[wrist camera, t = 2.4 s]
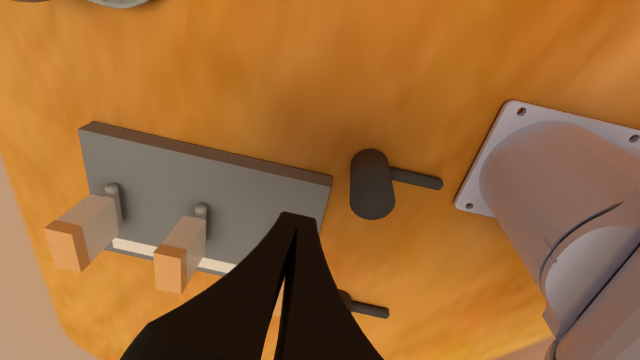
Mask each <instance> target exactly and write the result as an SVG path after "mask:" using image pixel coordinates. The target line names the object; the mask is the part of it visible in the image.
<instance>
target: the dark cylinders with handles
mask: <svg viewBox="0 0 640 360" xmlns="http://www.w3.org/2000/svg"><path fill="white" fill-rule="evenodd" d="M392 180H395V181H400V182H404V183H408V184H413V185H417V186H421V187H426V188H430V189H434V190H440V189H441V188H442V187H443V181H442V180H441V179H438V178H434V177H430V176H425V175H421V174H417V173H412V172H408V171H404V170H400V169H395V168H391V167H389V164H388V160H387V158H386V156H385V155H384V154H383V153H382V152H380V151H378V150H375V149H365V150H362V151H360V152H358V153H357V154H356V155H355V156H354V157H353V159H352V161H351V172H350V207H351V209H352V210H353V212H354V213H355V214H356V215H358V216H359V217H361V218H364V219H368V220H376V219H380V218H383V217H385V216H387V215H388V214H389V213H390V212H391V211H392V210H393V208H394V205H395V196H394V190H393V185H392ZM338 291H339V293H340V295H341V297H342V298H343V300H344V302H345V304H346V306H347V308H348V309H349V311H350V313H351V311H353V312H357V313H362V314H366V315H371V316H375V317H380V318H384V319H386V318H388V317H389V311H388V310H386V309H382V308H378V307H373V306H369V305H364V304H360V303H355V302H351V297H350V295H349V294H348V293H346V292H344V291H342V290H338Z"/></svg>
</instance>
